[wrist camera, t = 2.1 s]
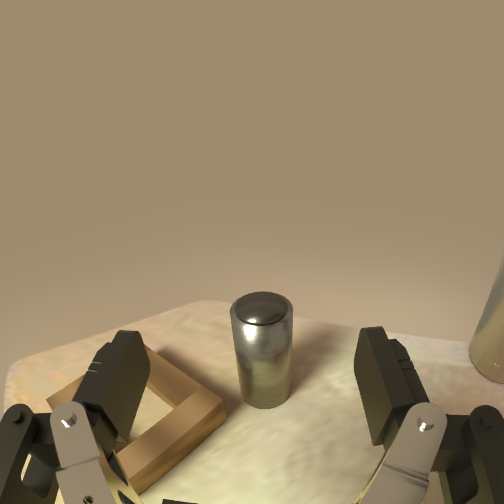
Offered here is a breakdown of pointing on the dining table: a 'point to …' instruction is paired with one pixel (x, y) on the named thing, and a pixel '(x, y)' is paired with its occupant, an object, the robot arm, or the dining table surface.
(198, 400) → the frame
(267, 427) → the dining table surface
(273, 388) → the metal tea canister
